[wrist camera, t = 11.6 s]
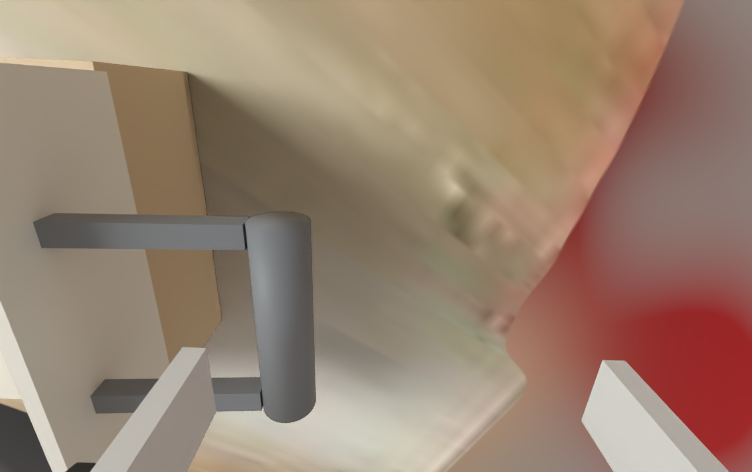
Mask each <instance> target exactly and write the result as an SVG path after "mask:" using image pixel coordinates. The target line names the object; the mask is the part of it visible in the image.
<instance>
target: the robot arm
mask: <svg viewBox="0 0 752 472" xmlns="http://www.w3.org/2000/svg"><path fill="white" fill-rule="evenodd" d="M215 413H216V405H215V399H214V393H213V387H212V380H211V374H210V368H209V362H208V355H207V349H206V348H193V347H182V349H181V350H180V351H179V353H178V354H177V355H176V357H175V358H174V359H173V361H172V362H171V363H170V365H169V366H168V367H167V369H166V370H165V371H164V373H163V374H162V376H161V377H160V378H159V380H158V381H157V382H156V384H155V385H154V386H153V388H152V389H151V390H150V392H149V393H148V394H147V396H146V397H145V398H144V400H143V401H142V402H141V404H140V405H139V407H138V408H137V409H136V411H135V412H134V413H133V415H132V416H131V417H130V419H129V420H128V421H127V423H126V424H125V425H124V427H123V428H122V429H121V431H120V432H119V434H118V435H117V436H116V438H115V439H114V440H113V442H112V443H111V444H110V446H109V447H108V448H107V450H106V451H105V452H104V454H103V455H102V456H101V458H100V459H99V460H98V462H97V463H84V462H77V463H75V464H74V465H73V466H72V467H70V468H69V469H68V470H67V471H65V472H187V470H188V468H189V466H190V464H191V462H192V460H193V458H194V456H195V454H196V452H197V450H198V448H199V446H200V444H201V442H202V440H203V438H204V436H205V433H206V431H207V429H208V427H209V425H210V423H211V421H212V419H213V417H214V415H215ZM582 422H583V424H584V426H585V427H586V429H587V430H588V432H589V434H590V435H591V437H592V438H593V440H594V441H595V443H596V444H597V446H598V448H599V449H600V451H601V452H602V454H603V456H604V457H605V459H606V460H607V462H608V464H609V465H610V467H611V468H612V470H613V471H614V472H728V470H727V469H726V468H725V467H724V466H723V465H722V464H721V463H720V462H719V461H718V460H717V459H716V458H715V457H714V455H713V454H712V453H711V452H710V451H709V450H708V449H707V448H706V447H705V446H704V445H703V444H702V443H701V442H700V440H699V439H698V438H697V437H696V436H695V435H694V434H693V433H692V432H691V431H690V430H689V429H688V428H687V426H686V425H685V424H684V423H682V421H681V420H680V419H679V418H678V417H677V416H676V415H675V414H674V413H673V412H672V410H670V409H669V407H668V406H667V405H666V404H665V403H664V402H663V401H662V400H661V399H660V398H659V397H658V396H657V394H656V393H655V392H654V391H653V390H652V389H651V388H650V387H649V386H648V385H647V384H646V383H645V382H644V381H643V379H641V377H640V376H639V375H638V374H637V373H636V372H635V371H634V370H633V369H632V368H631V367H630V366H629V365H628V363H627V362H625V361H614V360H612V361H611V360H603V361H602V363H601V366H600V369H599V372H598V375H597V378H596V380H595V383H594V386H593V389H592V392H591V395H590V398H589V400H588V404H587V406H586V409H585V412H584V415H583V418H582Z"/></svg>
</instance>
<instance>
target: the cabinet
mask: <svg viewBox="0 0 752 472" xmlns="http://www.w3.org/2000/svg"><path fill="white" fill-rule="evenodd" d="M0 63H9V64H21V65H33V66H45V67H57V68H69V69H81V70H93V71H105V72H107V75H108V80H109V84H110V89H111V94H112V98H113V103H114V108H115V112H116V117H117V122H118V126H119V131H120V136H121V140H122V145H123V150H124V154H125V159H126V163H127V168H128V173H129V177H130V182H131V187H132V191H133V196H134V201H135V205H136V210H137V215H192V216H207V210H206V203H205V196H204V189H203V182H202V174H201V167H200V160H199V153H198V146H197V139H196V132H195V124H194V117H193V110H192V103H191V96H190V89H189V82H188V74H187V72H182V71H173V70H164V69H155V68H146V67H138V66H129V65H120V64H111V63H102V62H93V61H71V60H48V59H25V58H2V57H0ZM145 252H146V257H147V261H148V266H149V271H150V275H151V280H152V285H153V289H154V294H155V299H156V303H157V308H158V313H159V317H160V322H161V327H162V331H163V336H164V341H165V345H166V350H167V355H168V359H169V364H170V363H171V362H172V361H173V359H174V358H175V357H176V355H177V354H178V353H179V351H180V350H181V349H182V347H193V348H204V346H205V345H206V343H207V342H208V340H209V339H210V337H211V336H212V334H213V333H214V331H215V330H216V328H217V327H218V325H219V324H220V322H221V321H222V317H221V310H220V303H219V296H218V289H217V282H216V275H215V267H214V260H213V253H212V250H172V249H145ZM0 398H11V399H22V398H21V396H20V394H19V391H18V389H17V387H16V384H15V382H14V379H13V377H12V375H11V372H10V370H9V368H8V365H7V363H6V360H5V358H4V356H3V353H2V351H1V349H0Z"/></svg>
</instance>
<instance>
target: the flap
mask: <svg viewBox="0 0 752 472" xmlns="http://www.w3.org/2000/svg"><path fill="white" fill-rule="evenodd" d="M246 248H248V258H249V268H250V278H251V288H252V298H253V308H254V318H255V328H256V338H257V348H258V358H259V368H260V377H247V378H211V380H212V387H213V393H214V399H215V405H216V411H262V407H264V412H265V414H266V415H267V416H268V417H269V418H270V419H271V420H273V421H276V422H280V423H290V422H295V421H298V420H300V419H302V418H304V417H305V416H307V415H308V414H309V413H310V412H311V411H312V409H313V407H314V405H315V402H316V389H315V355H314V321H313V286H312V252H311V220H310V218H309V217H308V216H306V215H303V214H300V213H295V212H269V213H263V214H259V215H256V216H253V217H251V218H250V217H247V216H192V215H137V210H136V205H135V201H134V196H133V191H132V187H131V182H130V177H129V173H128V168H127V163H126V159H125V154H124V150H123V145H122V140H121V136H120V131H119V126H118V122H117V117H116V112H115V108H114V103H113V98H112V94H111V89H110V84H109V80H108V75H107V72H105V71H93V70H81V69H69V68H57V67H45V66H33V65H21V64H9V63H0V349H1V351H2V353H3V356H4V358H5V360H6V363H7V365H8V368H9V370H10V372H11V375H12V377H13V379H14V382H15V384H16V387H17V389H18V391H19V394H20V396H21V398H22V401H23V403H24V405H25V408H26V410H27V413H28V415H29V417H30V420H31V422H32V424H33V427H34V429H35V431H36V434H37V436H38V439H39V441H40V443H41V446H42V448H43V450H44V453H45V455H46V457H47V460H48V462H49V465H50V467H51V469H52V472H65V471H67V470H68V469H69V468H70V467H72V466H73V465H74V464H75V463H77V462H84V463H97V462H98V460H99V459H100V458H101V456H102V455H103V454H104V452H105V451H106V450H107V448H108V447H109V446H110V444H111V443H112V442H113V440H114V439H115V438H116V436H117V435H118V434H119V432H120V431H121V429H122V428H123V427H124V425H125V424H126V423H127V421H128V420H129V419H130V417H131V416H132V415H133V413H134V412H135V411H136V409H137V408H138V407H139V405H140V404H141V402H142V401H143V400H144V398H145V397H146V396H147V394H148V393H149V392H150V390H151V389H152V388H153V386H154V385H155V384H156V382H157V381H158V380H159V378H160V377H161V376H162V374H163V373H164V371H165V370H166V369H167V367H168V366H169V365H170V364H169V359H168V355H167V350H166V345H165V341H164V336H163V331H162V327H161V322H160V317H159V313H158V308H157V303H156V299H155V294H154V289H153V285H152V280H151V275H150V271H149V266H148V261H147V257H146V252H145V249H172V250H246Z"/></svg>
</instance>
